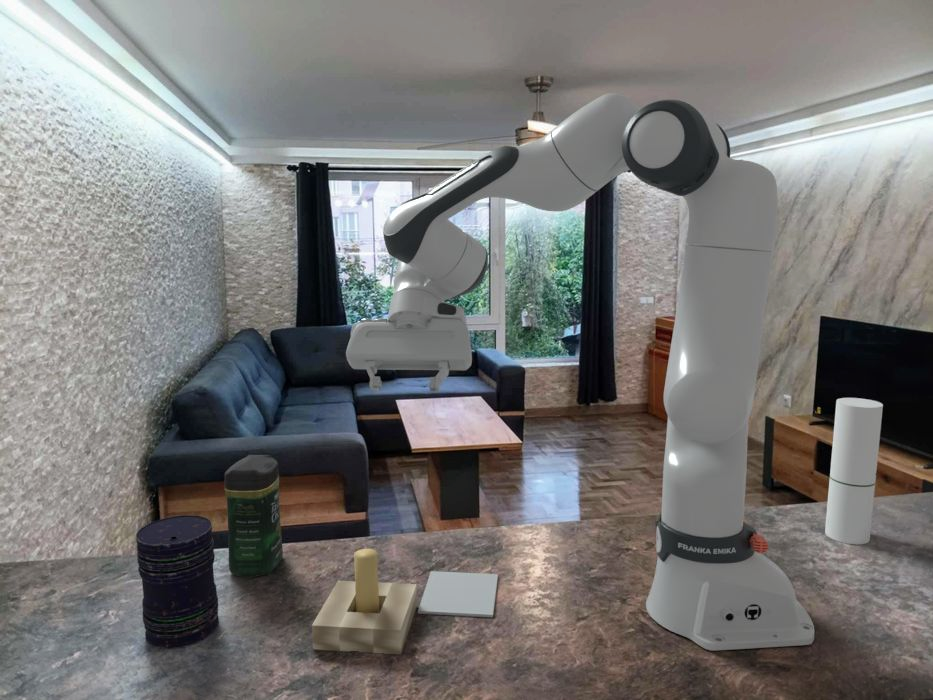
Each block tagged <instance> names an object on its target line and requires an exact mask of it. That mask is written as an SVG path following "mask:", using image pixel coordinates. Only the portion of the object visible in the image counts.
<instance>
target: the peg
mask: <svg viewBox="0 0 933 700" xmlns="http://www.w3.org/2000/svg"><path fill="white" fill-rule="evenodd" d="M353 560H354V561H353V564H354V565H353V566H354V581H355V591H356V612H361V613H379V589H378V582H379V570H378V569H379V567H378V566H379V564H378V551H377V550H375V549H373V548H362V549H359V550H357V551H355V552H354V554H353Z"/></svg>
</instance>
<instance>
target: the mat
mask: <svg viewBox="0 0 933 700" xmlns="http://www.w3.org/2000/svg"><path fill="white" fill-rule="evenodd" d="M498 579H499V574H497V573H480V572H474V573H473V572H460V571H459V572H458V571H457V572H455V571H434V570H433V571H432V570H431V571H430V573H429V576H428V579H427V582H426V585H425V588H424V591H423V594H422V597H421V600H420V604H419V607H418V609H417V614H420V615H421V614H422V615H440V616H456V617H457V616H461V617H479V618H494V611H495V605H496V597H497V596H496V595H497V587H498Z"/></svg>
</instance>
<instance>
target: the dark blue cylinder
mask: <svg viewBox="0 0 933 700" xmlns="http://www.w3.org/2000/svg"><path fill="white" fill-rule="evenodd" d="M135 539H136V540H135V541H136V557H137V558H136V560H137V564H138V570H137V571H138V573H139V577H140V578H141V582H142V584H141V585H142V592H143V594H142V595H143V597H142V601H141V602H142V614H141V615H142V622H143V625H144V630H145V632H144V635H145V641H146V643H147V644H148V645H149V646H151V647H153V648H157V649H161V650H176V649H182V648H185V647H190V646H193V645H195V644H197V643H200V642H203V641H204V640H206V639H207V638H209V637H210V636H212V635H213V633H215V632H216V630H217V629H218V627H219V624H220V621H219V620H220V618H219V597H218V591H217V585H216V583H215V575H214V563H215V552H214V550H215V543H214V542H215V541H214V537H213V525H212V521H211V520H210V519H208V518H207V517H204V516H200V515H193V514H189V515H187V514H186V515H183V514H182V515H175V516H169V517H165V518H162V519H158V520H154V521H153V522H149V523H148V524H146V525H144V526H142V527H141V528H139V530H138V531H137V532H136V535H135Z"/></svg>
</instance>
